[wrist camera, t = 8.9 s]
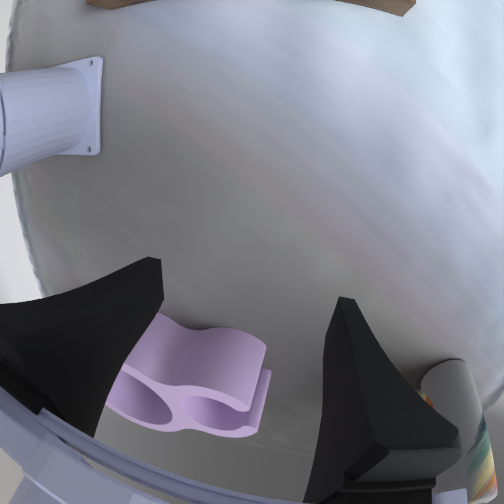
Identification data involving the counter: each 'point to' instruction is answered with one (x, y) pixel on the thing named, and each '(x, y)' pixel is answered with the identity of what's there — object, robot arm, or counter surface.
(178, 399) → the clip
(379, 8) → the board
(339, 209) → the counter surface
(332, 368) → the robot arm
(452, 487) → the lotion bottle
